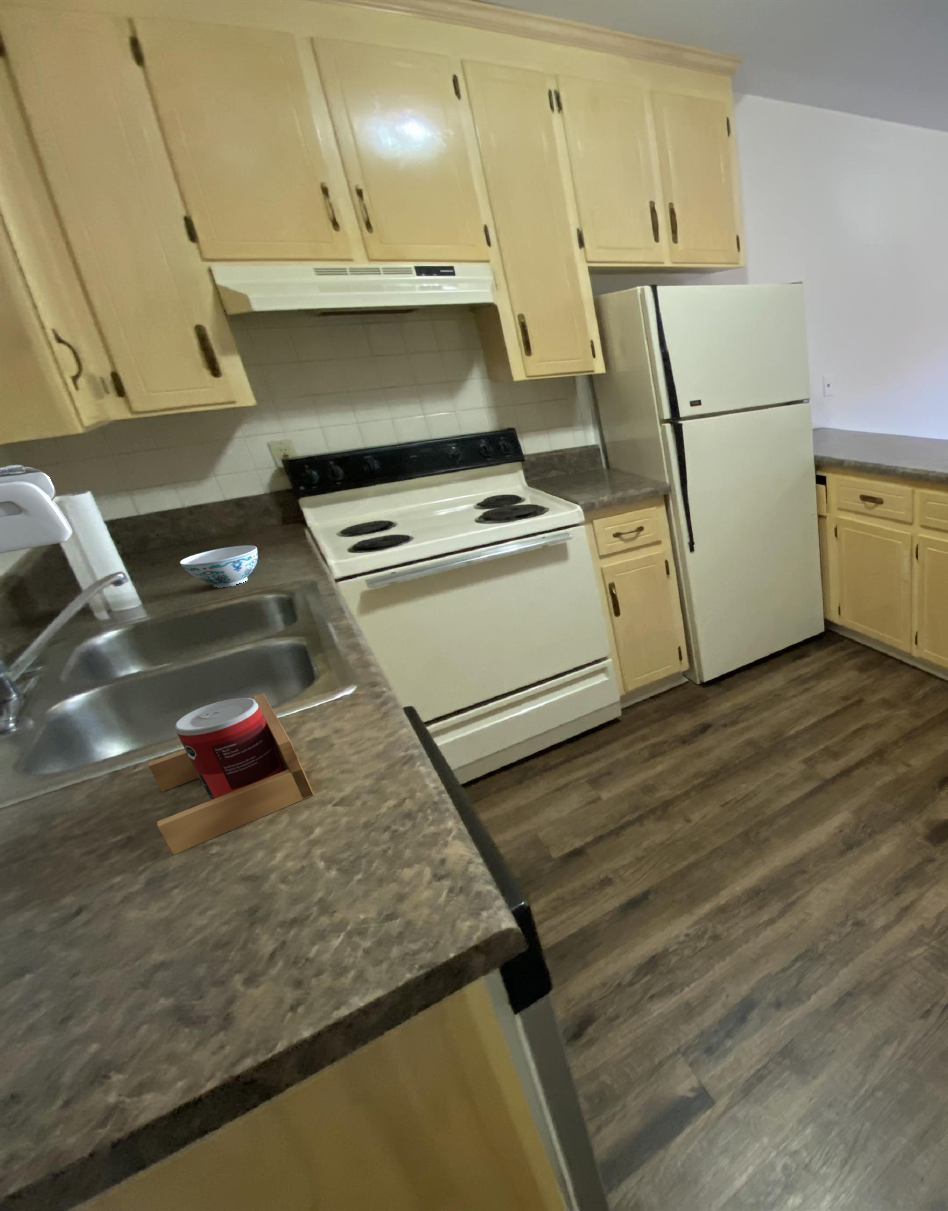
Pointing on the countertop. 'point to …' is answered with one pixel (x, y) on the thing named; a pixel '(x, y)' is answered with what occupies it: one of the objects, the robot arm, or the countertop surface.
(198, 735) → the canned food
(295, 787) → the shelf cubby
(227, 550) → the chinaware
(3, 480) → the robot arm
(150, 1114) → the countertop surface
